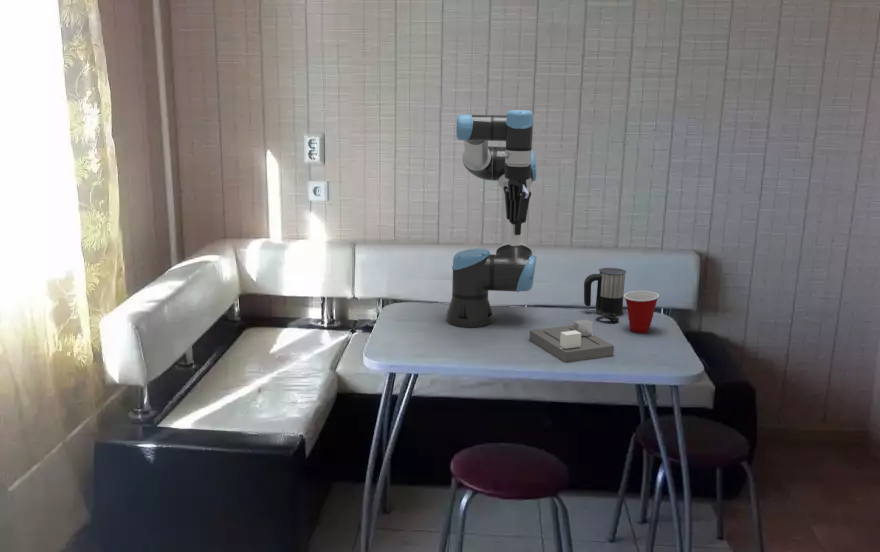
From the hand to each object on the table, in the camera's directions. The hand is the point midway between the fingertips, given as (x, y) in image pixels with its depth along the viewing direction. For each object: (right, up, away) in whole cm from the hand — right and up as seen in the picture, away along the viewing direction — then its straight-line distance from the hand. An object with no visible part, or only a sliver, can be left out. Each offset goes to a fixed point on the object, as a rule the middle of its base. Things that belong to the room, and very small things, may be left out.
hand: (515, 245), depth 242 cm
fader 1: (+15, -29, -8) cm, 34 cm away
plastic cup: (+41, -27, +18) cm, 52 cm away
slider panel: (+16, -30, +1) cm, 34 cm away
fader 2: (+20, -27, +3) cm, 34 cm away
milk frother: (+34, -23, +33) cm, 53 cm away
